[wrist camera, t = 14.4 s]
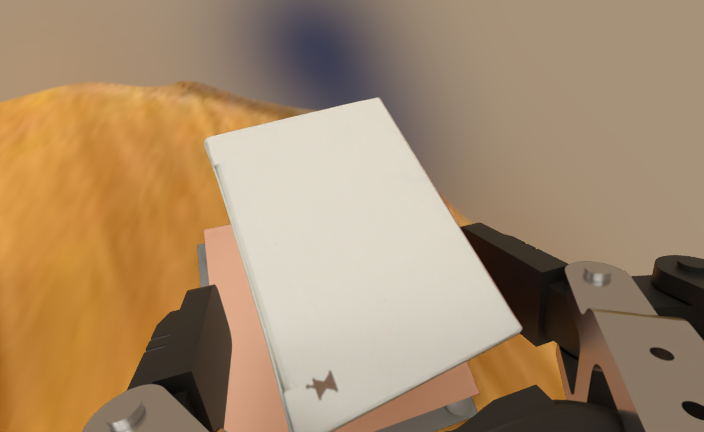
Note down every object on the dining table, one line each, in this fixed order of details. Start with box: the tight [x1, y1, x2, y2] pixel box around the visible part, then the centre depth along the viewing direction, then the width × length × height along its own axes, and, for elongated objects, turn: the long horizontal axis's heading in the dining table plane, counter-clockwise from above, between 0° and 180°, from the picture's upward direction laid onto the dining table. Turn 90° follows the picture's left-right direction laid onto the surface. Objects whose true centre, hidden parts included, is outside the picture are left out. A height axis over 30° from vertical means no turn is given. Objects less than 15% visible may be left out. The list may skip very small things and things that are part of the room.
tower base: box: [197, 225, 480, 432], centre depth 21 cm, size 16×16×8 cm
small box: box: [204, 98, 522, 432], centre depth 13 cm, size 8×6×10 cm
